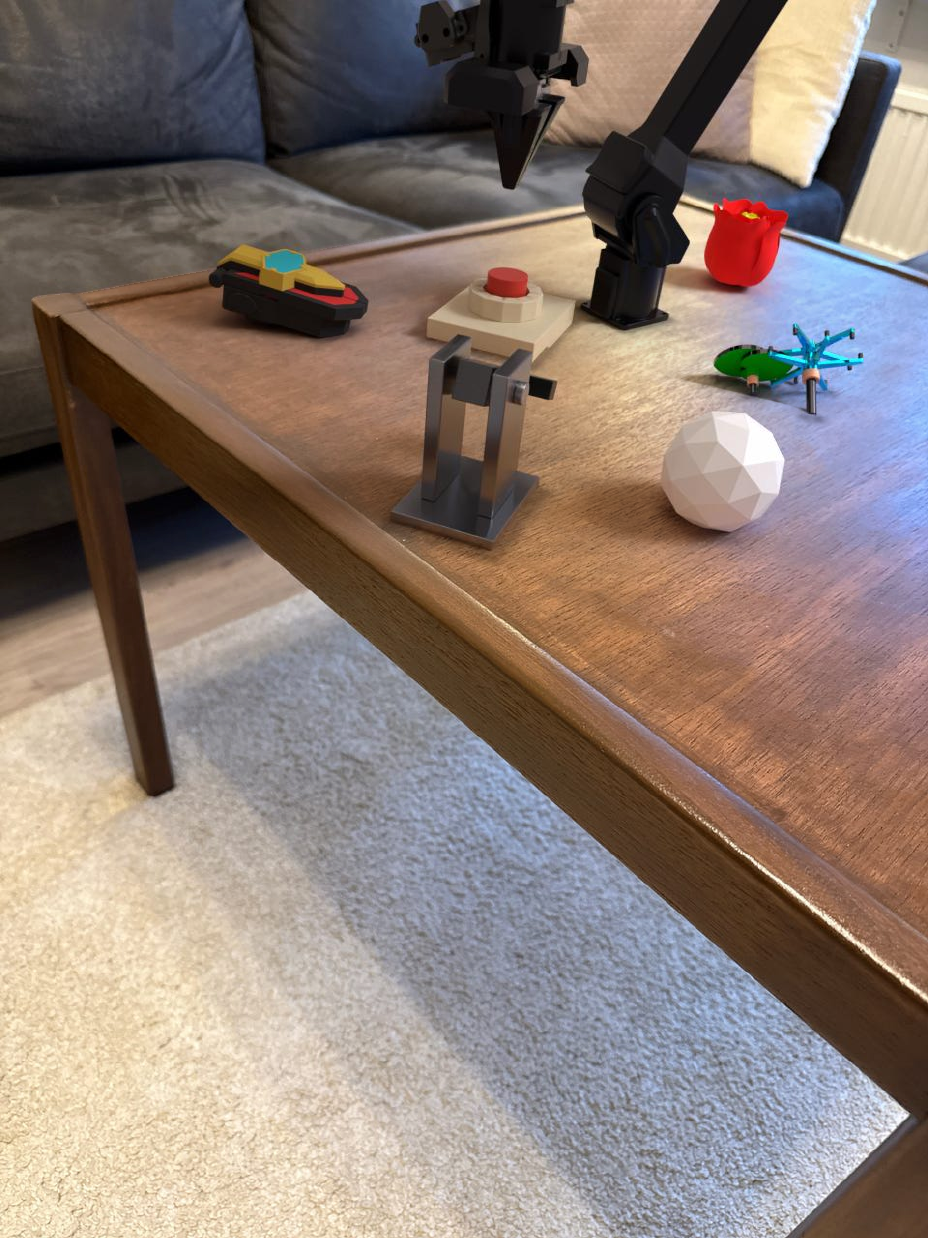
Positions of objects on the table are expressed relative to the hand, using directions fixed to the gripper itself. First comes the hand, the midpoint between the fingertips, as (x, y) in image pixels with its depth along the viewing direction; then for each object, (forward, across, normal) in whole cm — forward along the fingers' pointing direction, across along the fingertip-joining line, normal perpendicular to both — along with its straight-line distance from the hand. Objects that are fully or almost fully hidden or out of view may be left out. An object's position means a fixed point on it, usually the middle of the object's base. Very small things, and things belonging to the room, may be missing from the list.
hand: (509, 188), depth 81 cm
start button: (+8, +1, +1) cm, 9 cm away
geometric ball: (+12, +24, +24) cm, 37 cm away
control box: (+12, +1, +1) cm, 12 cm away
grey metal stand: (+12, +31, +9) cm, 35 cm away
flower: (+12, -26, +18) cm, 34 cm away
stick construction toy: (+12, +1, +27) cm, 29 cm away
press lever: (+6, +28, +9) cm, 30 cm away
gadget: (+12, +10, -16) cm, 22 cm away
